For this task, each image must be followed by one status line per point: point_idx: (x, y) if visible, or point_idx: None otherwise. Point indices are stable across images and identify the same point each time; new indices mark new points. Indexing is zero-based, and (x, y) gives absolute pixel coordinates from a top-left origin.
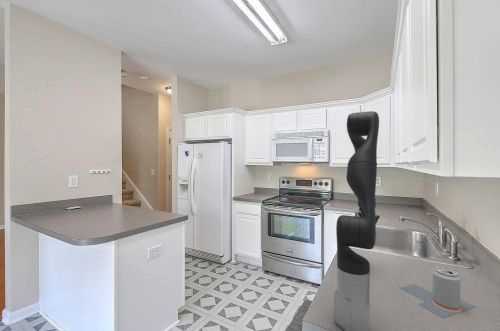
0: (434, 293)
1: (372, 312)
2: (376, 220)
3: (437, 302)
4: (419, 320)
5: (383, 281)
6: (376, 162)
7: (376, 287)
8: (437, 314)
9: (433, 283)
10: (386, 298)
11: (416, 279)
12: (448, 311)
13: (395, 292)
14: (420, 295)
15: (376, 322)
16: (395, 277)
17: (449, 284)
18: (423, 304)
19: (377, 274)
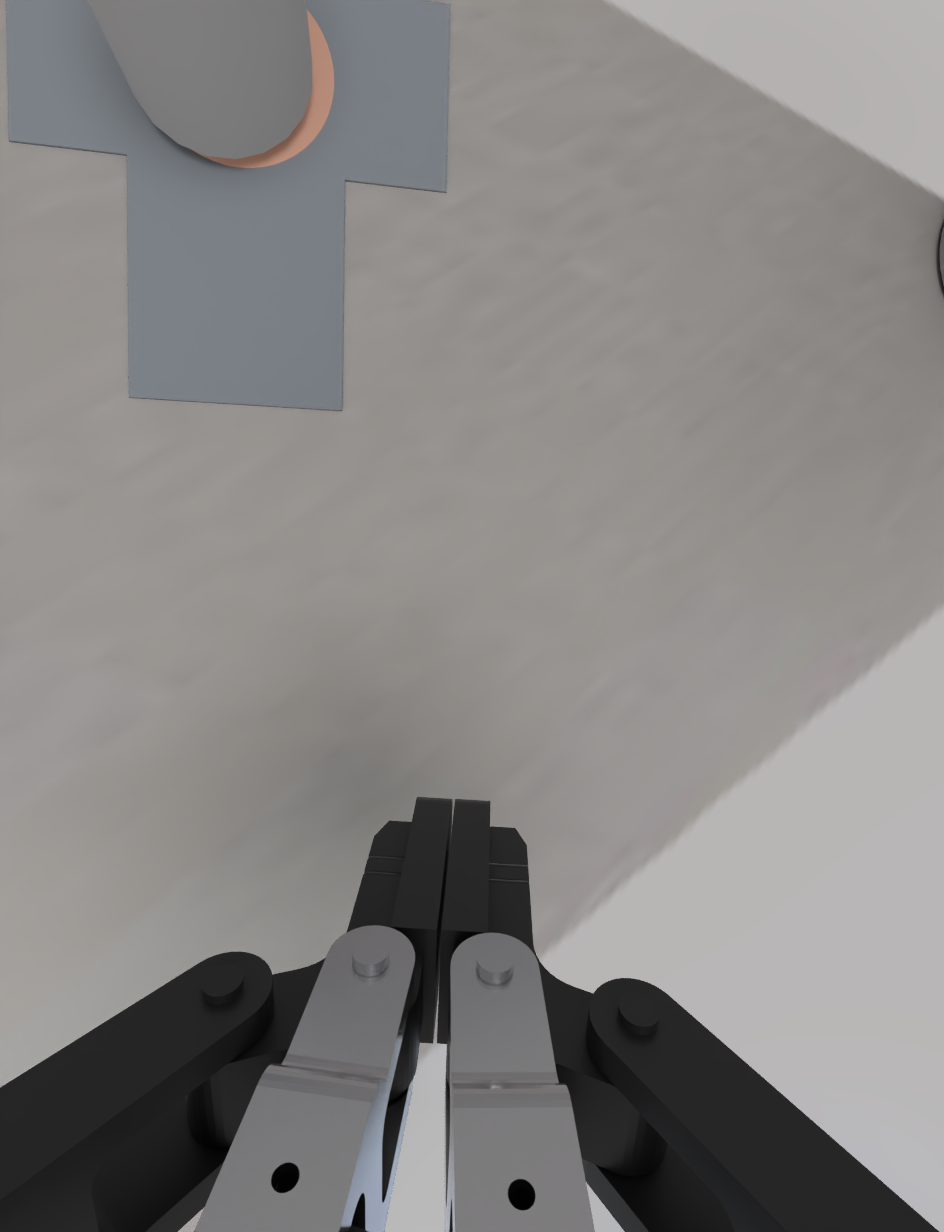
0: (292, 79)
1: (823, 282)
2: (6, 1136)
3: (311, 90)
4: (627, 80)
5: (369, 548)
6: None
7: (520, 498)
8: (445, 47)
9: (269, 25)
10: (592, 352)
11: (4, 450)
12: (322, 22)
13: (444, 379)
14: (291, 254)
15: (883, 204)
16: (180, 559)
17: None
18: (408, 167)
19: (297, 668)
